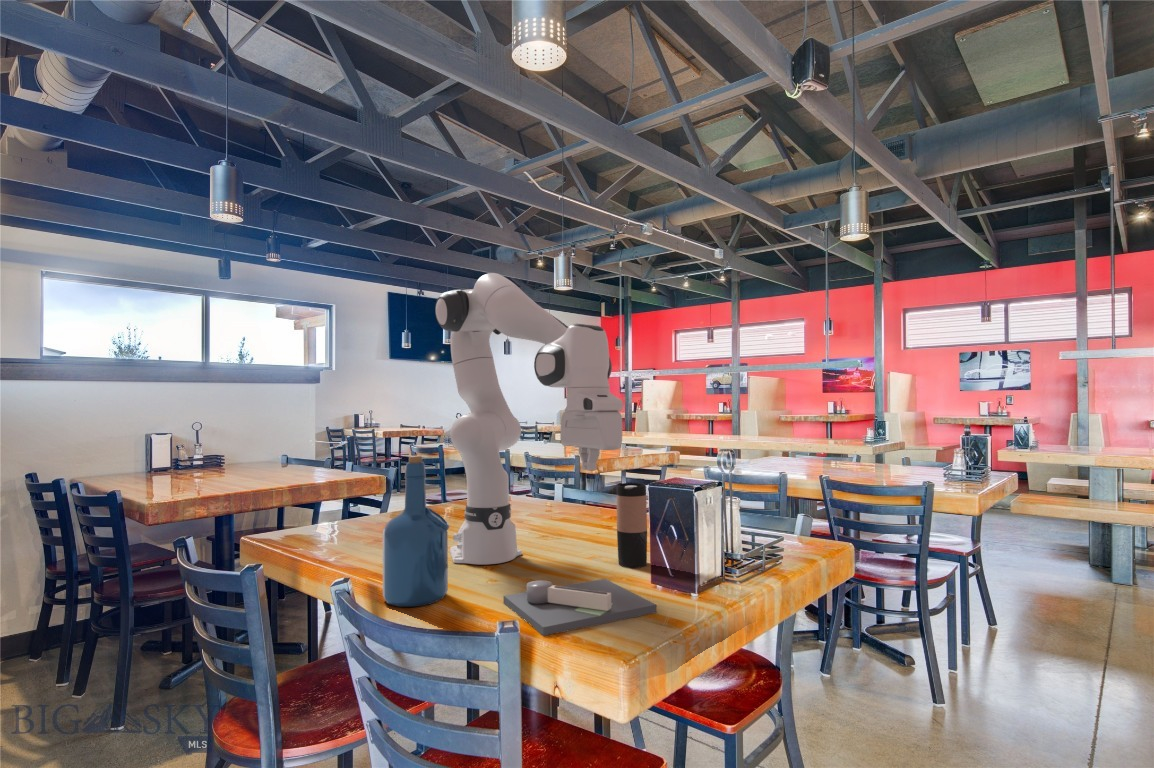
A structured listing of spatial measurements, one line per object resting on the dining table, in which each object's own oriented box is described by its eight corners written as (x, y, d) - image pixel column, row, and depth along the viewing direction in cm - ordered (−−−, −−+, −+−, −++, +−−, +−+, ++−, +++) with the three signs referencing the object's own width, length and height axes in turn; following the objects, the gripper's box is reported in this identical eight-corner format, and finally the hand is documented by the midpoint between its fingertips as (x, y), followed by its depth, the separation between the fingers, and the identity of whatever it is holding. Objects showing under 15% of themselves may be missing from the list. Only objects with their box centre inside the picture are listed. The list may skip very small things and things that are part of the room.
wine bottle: (379, 611, 117) (379, 459, 118) (386, 591, 130) (386, 454, 131) (449, 605, 120) (448, 457, 121) (449, 586, 132) (449, 452, 134)
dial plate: (503, 602, 121) (503, 594, 121) (604, 585, 132) (604, 577, 132) (543, 636, 103) (543, 626, 103) (657, 612, 114) (656, 603, 114)
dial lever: (534, 594, 120) (534, 579, 120) (614, 605, 113) (614, 589, 113) (522, 601, 116) (521, 586, 116) (604, 613, 108) (604, 597, 108)
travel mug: (636, 558, 154) (635, 482, 155) (653, 565, 148) (652, 485, 149) (611, 562, 151) (610, 484, 152) (628, 569, 144) (626, 487, 145)
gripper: (552, 403, 128) (553, 466, 128) (599, 401, 110) (600, 476, 109) (578, 402, 131) (579, 465, 131) (627, 401, 113) (628, 473, 112)
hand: (589, 470), depth 120 cm, fingers closed
